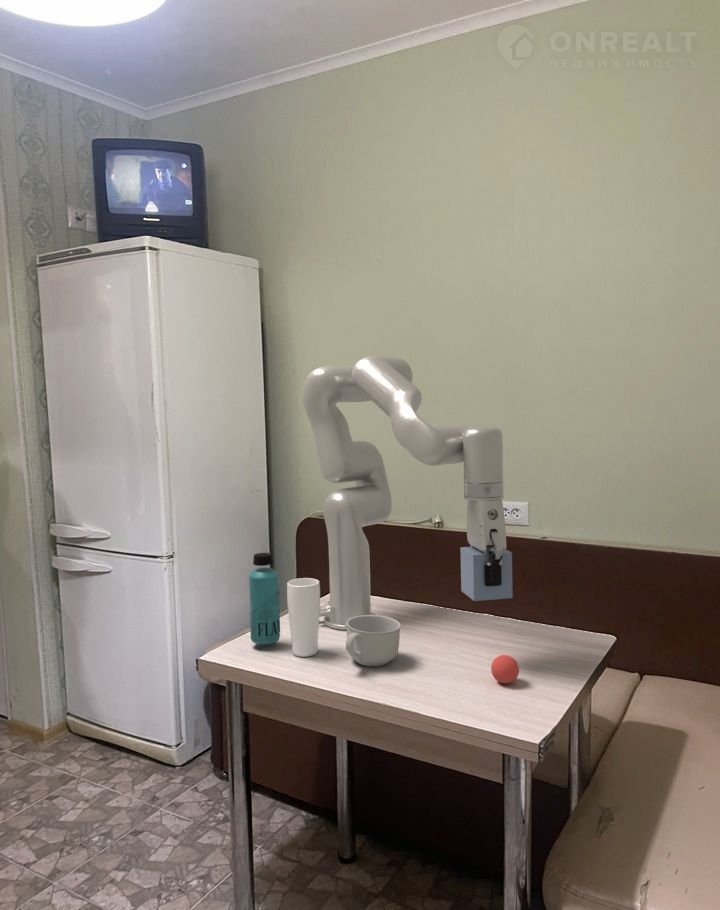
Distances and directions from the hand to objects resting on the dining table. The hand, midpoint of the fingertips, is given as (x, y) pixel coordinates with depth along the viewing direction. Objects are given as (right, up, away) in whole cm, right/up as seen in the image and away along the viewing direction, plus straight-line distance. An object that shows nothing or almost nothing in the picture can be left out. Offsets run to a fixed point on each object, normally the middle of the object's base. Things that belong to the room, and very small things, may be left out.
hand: (485, 579), depth 137 cm
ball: (+2, -15, -9) cm, 17 cm away
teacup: (-23, -17, +2) cm, 29 cm away
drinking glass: (-36, -17, +8) cm, 40 cm away
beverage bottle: (-45, -17, +13) cm, 49 cm away
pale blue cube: (0, -3, 0) cm, 3 cm away
